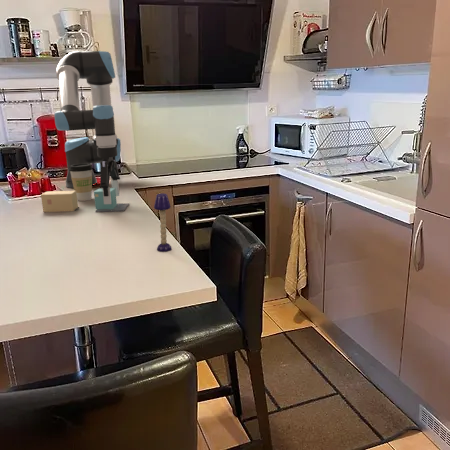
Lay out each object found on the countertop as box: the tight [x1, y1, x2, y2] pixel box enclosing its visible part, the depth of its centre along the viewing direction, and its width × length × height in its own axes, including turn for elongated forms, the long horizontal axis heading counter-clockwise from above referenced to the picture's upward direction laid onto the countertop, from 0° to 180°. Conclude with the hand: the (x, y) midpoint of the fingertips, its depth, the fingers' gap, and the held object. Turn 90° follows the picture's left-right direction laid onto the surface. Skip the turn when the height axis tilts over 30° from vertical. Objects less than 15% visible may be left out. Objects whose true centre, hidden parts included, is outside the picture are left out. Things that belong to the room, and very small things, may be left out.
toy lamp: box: [153, 193, 173, 253], centre depth 134 cm, size 5×5×17 cm
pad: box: [94, 202, 130, 213], centre depth 186 cm, size 11×11×1 cm
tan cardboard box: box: [40, 190, 80, 213], centre depth 186 cm, size 6×13×7 cm, turn 89°
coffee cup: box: [69, 164, 93, 202], centre depth 202 cm, size 10×10×15 cm
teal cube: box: [93, 187, 118, 210], centre depth 185 cm, size 6×7×7 cm
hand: (112, 199), depth 186 cm, fingers open, 13 cm apart
